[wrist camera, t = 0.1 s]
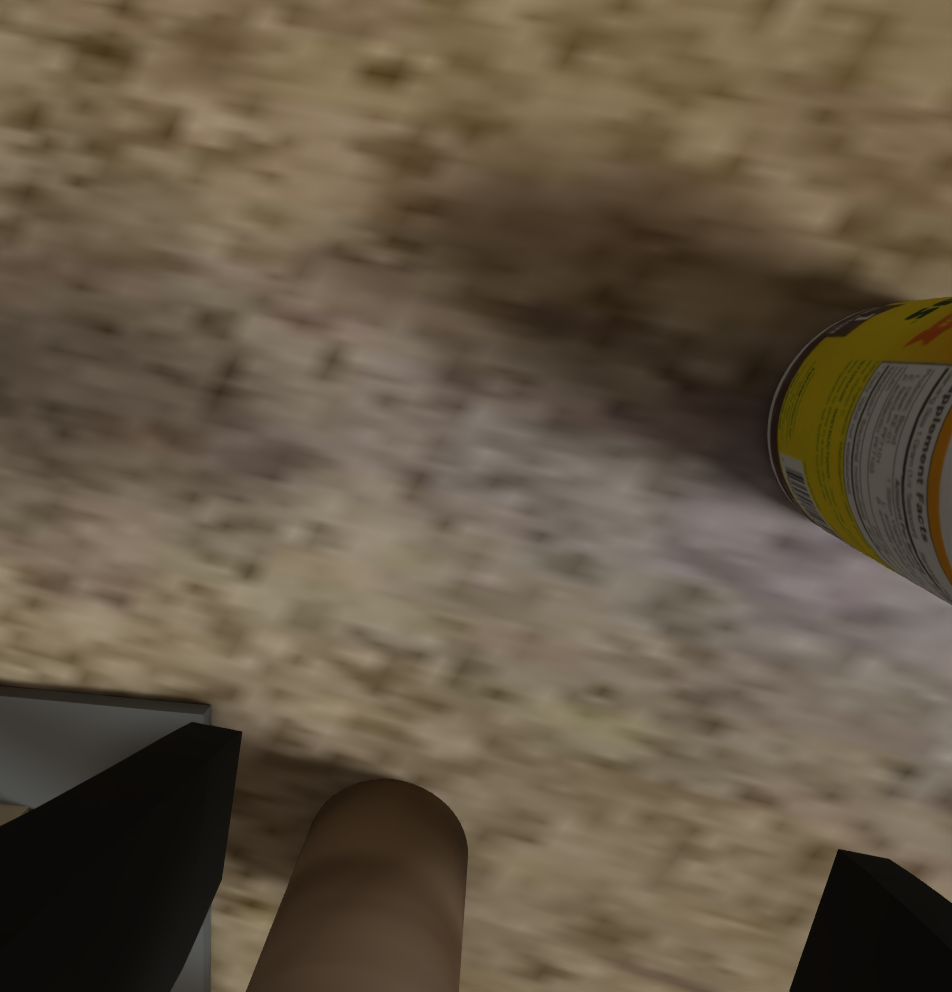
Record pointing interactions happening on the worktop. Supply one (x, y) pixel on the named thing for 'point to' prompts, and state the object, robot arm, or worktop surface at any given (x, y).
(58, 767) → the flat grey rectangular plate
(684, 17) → the worktop surface
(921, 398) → the supplement bottle
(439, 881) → the walnut peg
